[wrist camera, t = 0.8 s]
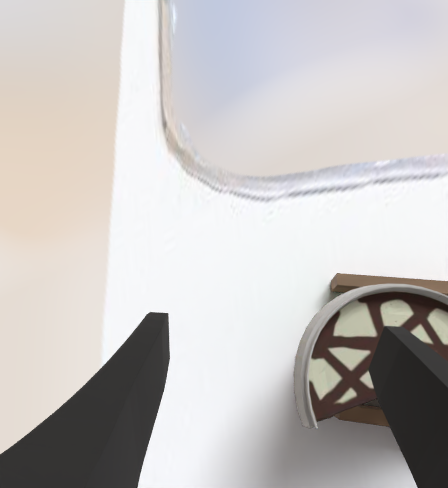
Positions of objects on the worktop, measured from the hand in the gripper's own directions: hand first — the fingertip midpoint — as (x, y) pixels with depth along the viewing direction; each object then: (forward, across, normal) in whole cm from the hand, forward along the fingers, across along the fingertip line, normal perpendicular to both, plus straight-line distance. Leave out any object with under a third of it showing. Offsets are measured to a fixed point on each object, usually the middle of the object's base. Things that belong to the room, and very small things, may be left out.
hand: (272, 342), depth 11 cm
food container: (+12, -9, +12) cm, 19 cm away
